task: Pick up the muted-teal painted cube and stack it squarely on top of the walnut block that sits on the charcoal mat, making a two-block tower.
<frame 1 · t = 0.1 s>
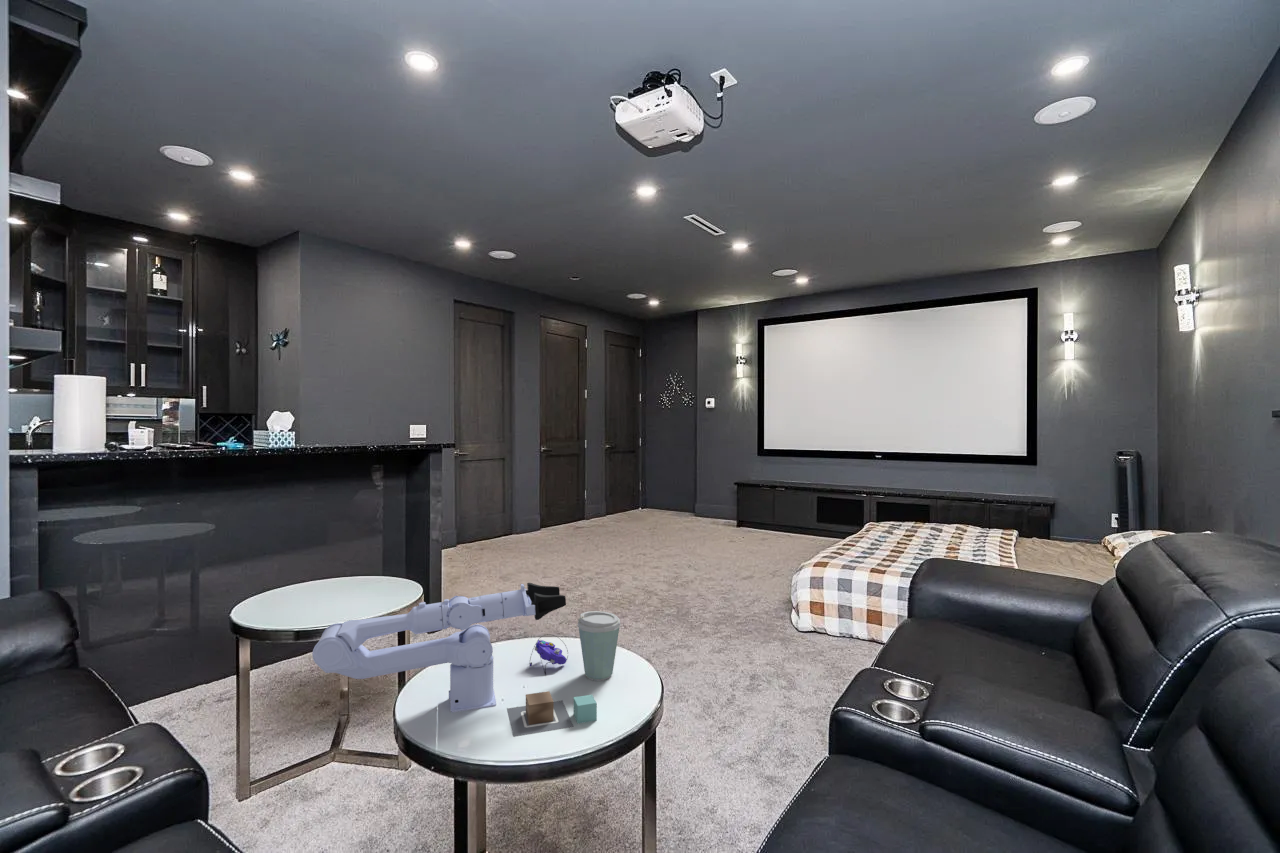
hand: (562, 595, 136), 22 cm above the table, tool horizontal, fingers open, 7 cm apart
mat: (539, 718, 122), on the table
walnut block: (539, 717, 122), resting on mat
teal cube: (584, 719, 122), on the table
disposable coffee cup: (599, 677, 143), on the table
game controller: (546, 668, 148), on the table
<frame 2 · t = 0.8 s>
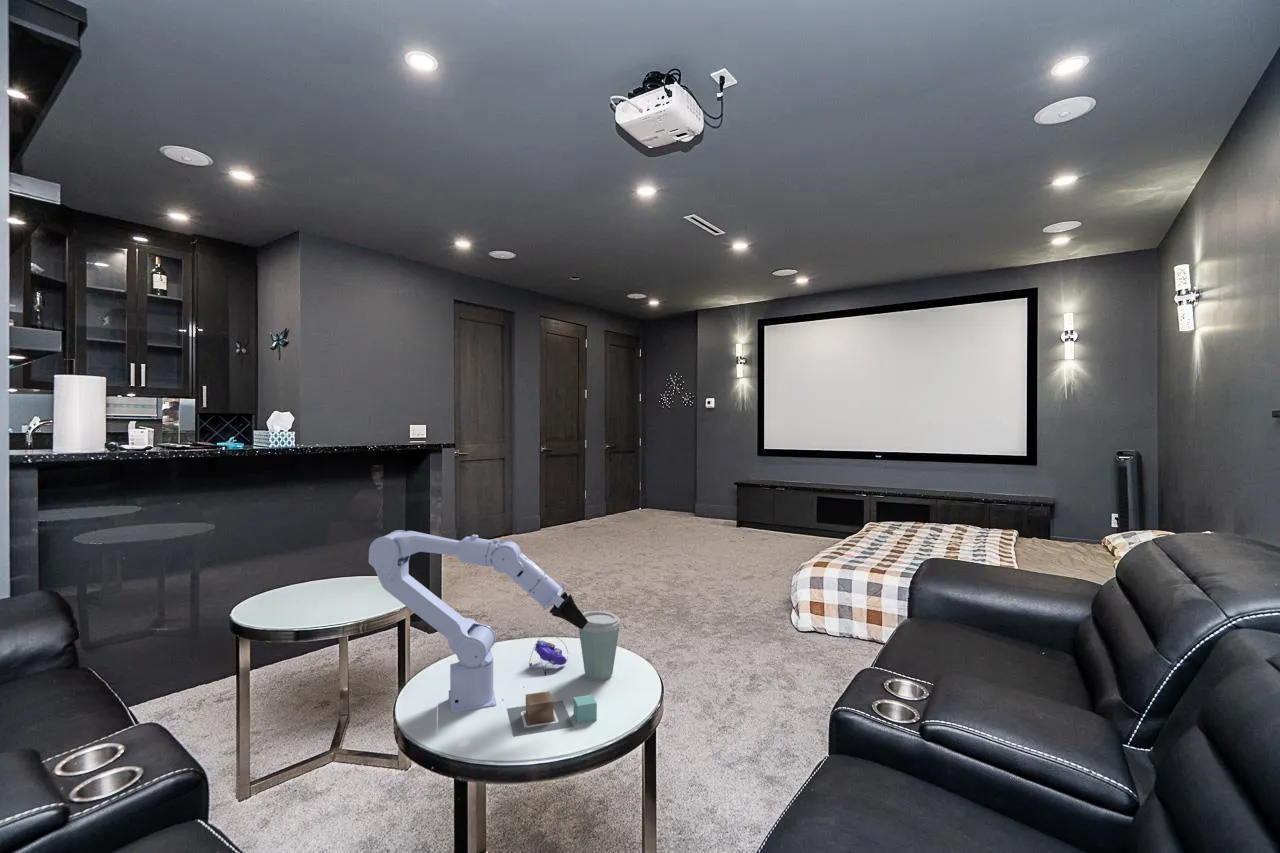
hand: (582, 623, 130), 17 cm above the table, tool tilted 50°, fingers open, 7 cm apart
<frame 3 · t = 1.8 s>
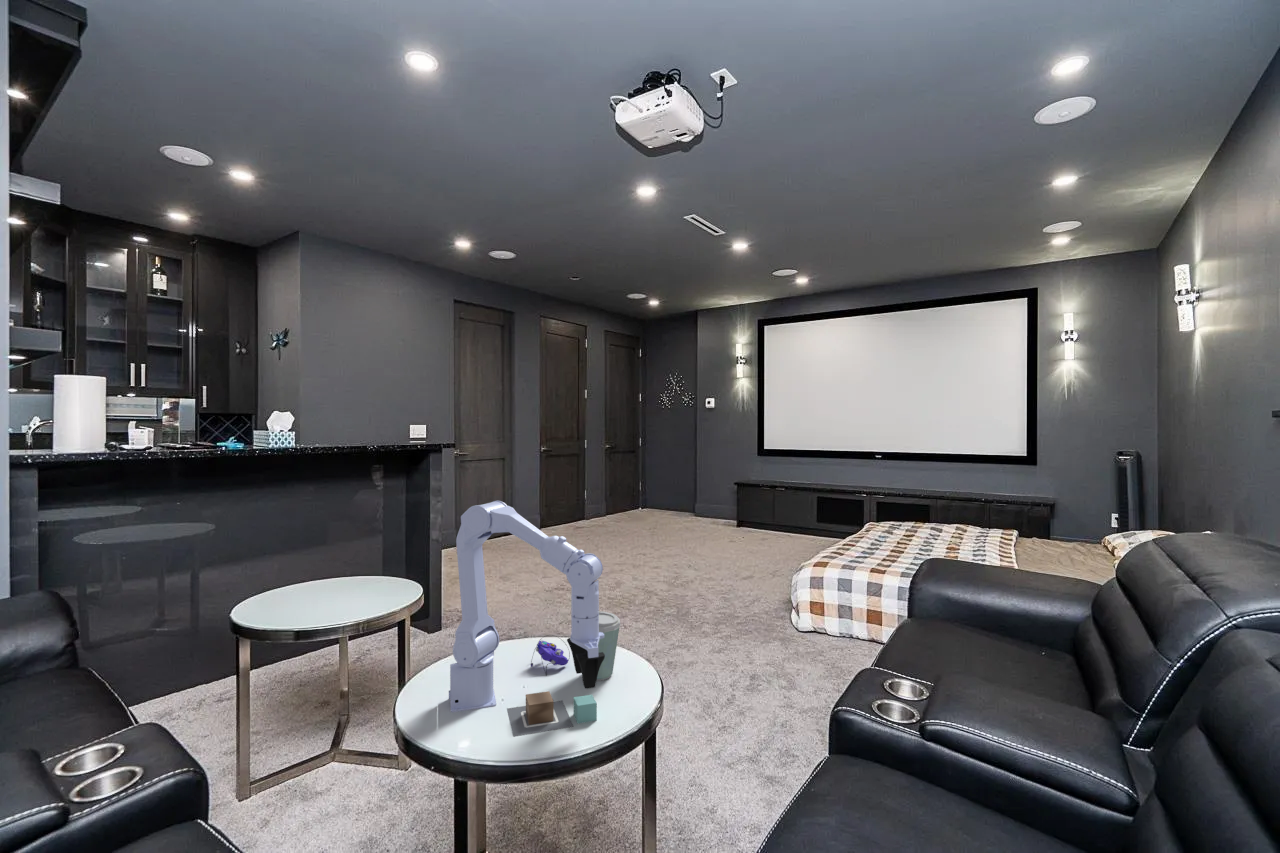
hand: (585, 679, 122), 8 cm above the table, tool pointing down, fingers open, 7 cm apart
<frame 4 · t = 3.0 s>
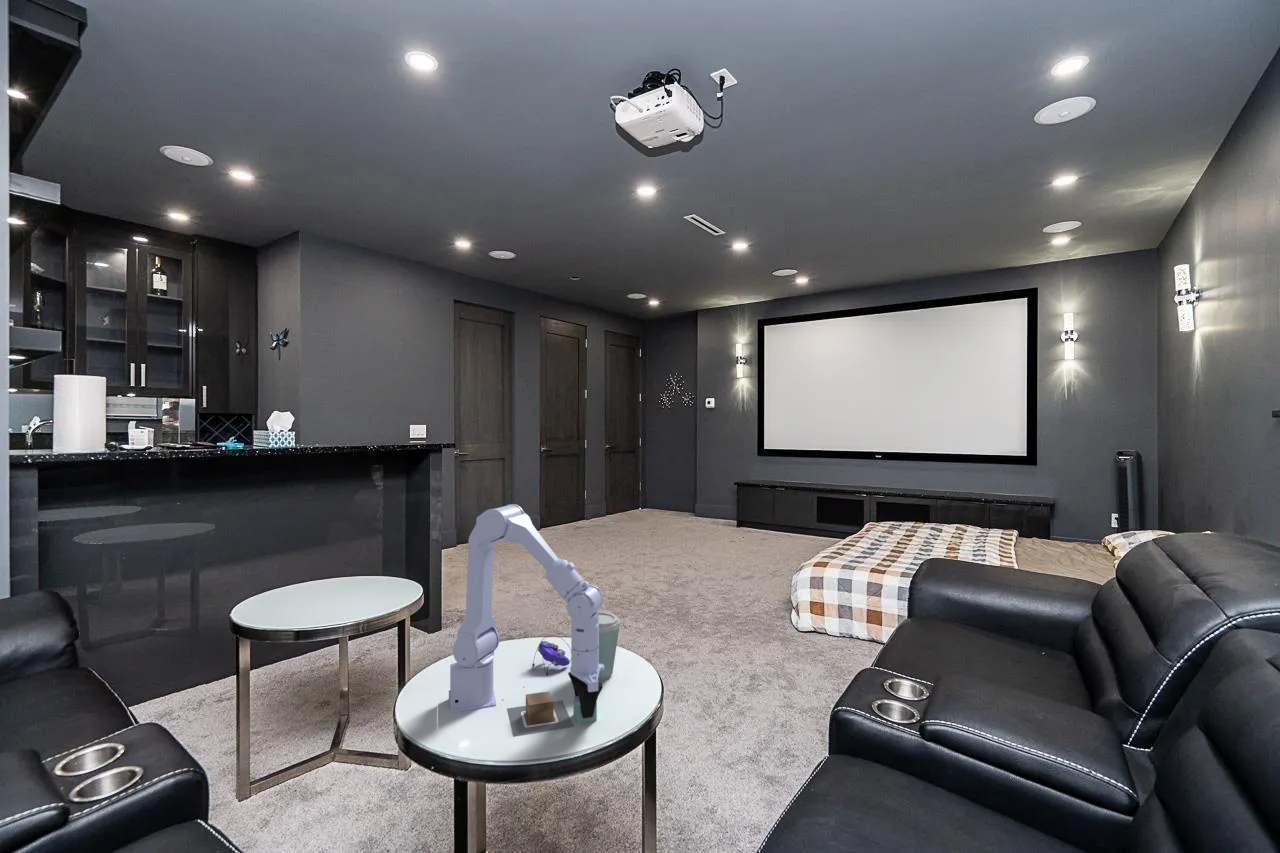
hand: (585, 711, 122), 1 cm above the table, tool pointing down, fingers closed on teal cube, 4 cm apart
teal cube: (585, 718, 122), on the table, touching gripper
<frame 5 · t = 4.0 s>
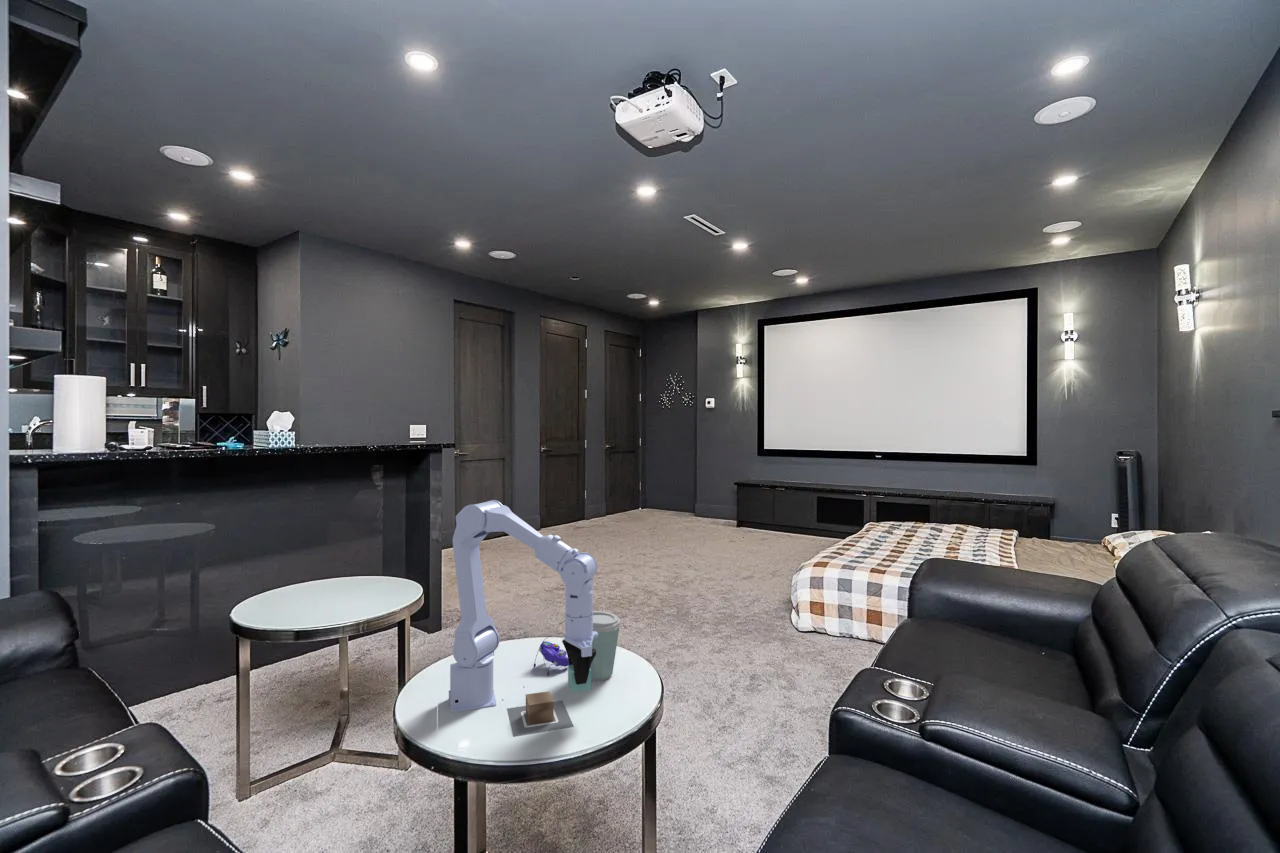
hand: (578, 678, 122), 8 cm above the table, tool pointing down, fingers closed on teal cube, 4 cm apart
teal cube: (579, 686, 122), point 7 cm above the table, touching gripper
when the fingers open (7 cm above the table, at t = 5.2 s): teal cube stays where it is, resting on walnut block.
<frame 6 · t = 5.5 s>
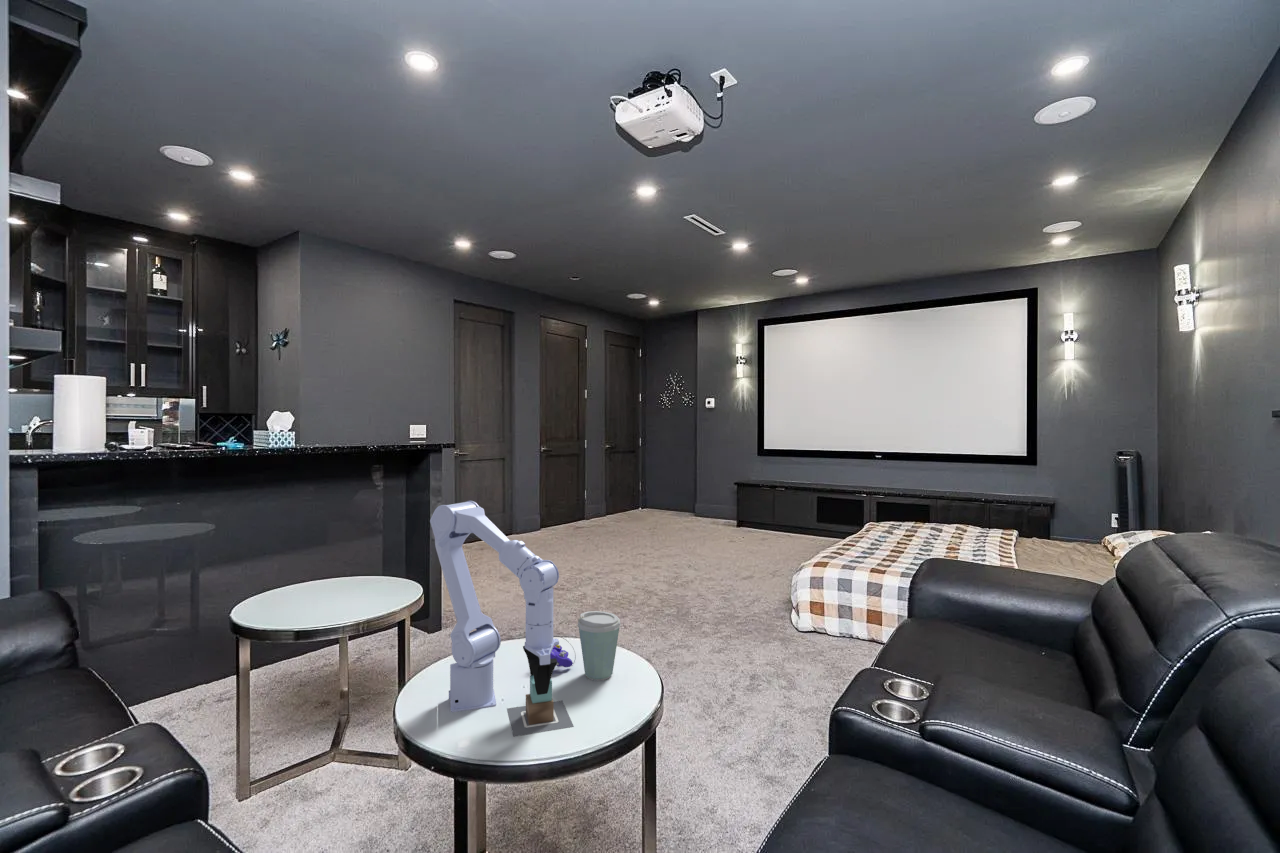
hand: (539, 686, 122), 7 cm above the table, tool pointing down, fingers open, 6 cm apart
walnut block: (539, 717, 122), resting on mat, touching teal cube
teal cube: (540, 697, 122), point 4 cm above the table, touching walnut block
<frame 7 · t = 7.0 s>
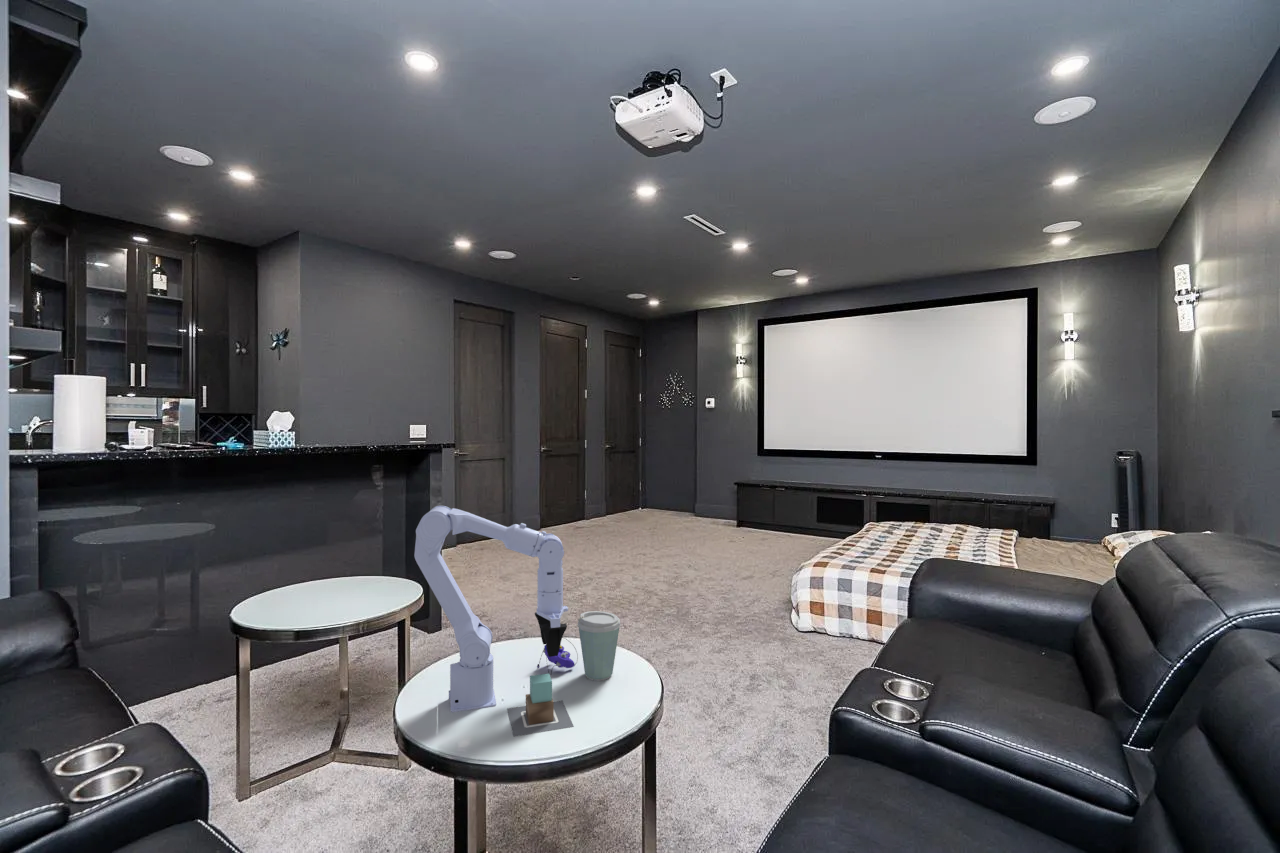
hand: (550, 649, 133), 10 cm above the table, tool pointing down, fingers open, 7 cm apart
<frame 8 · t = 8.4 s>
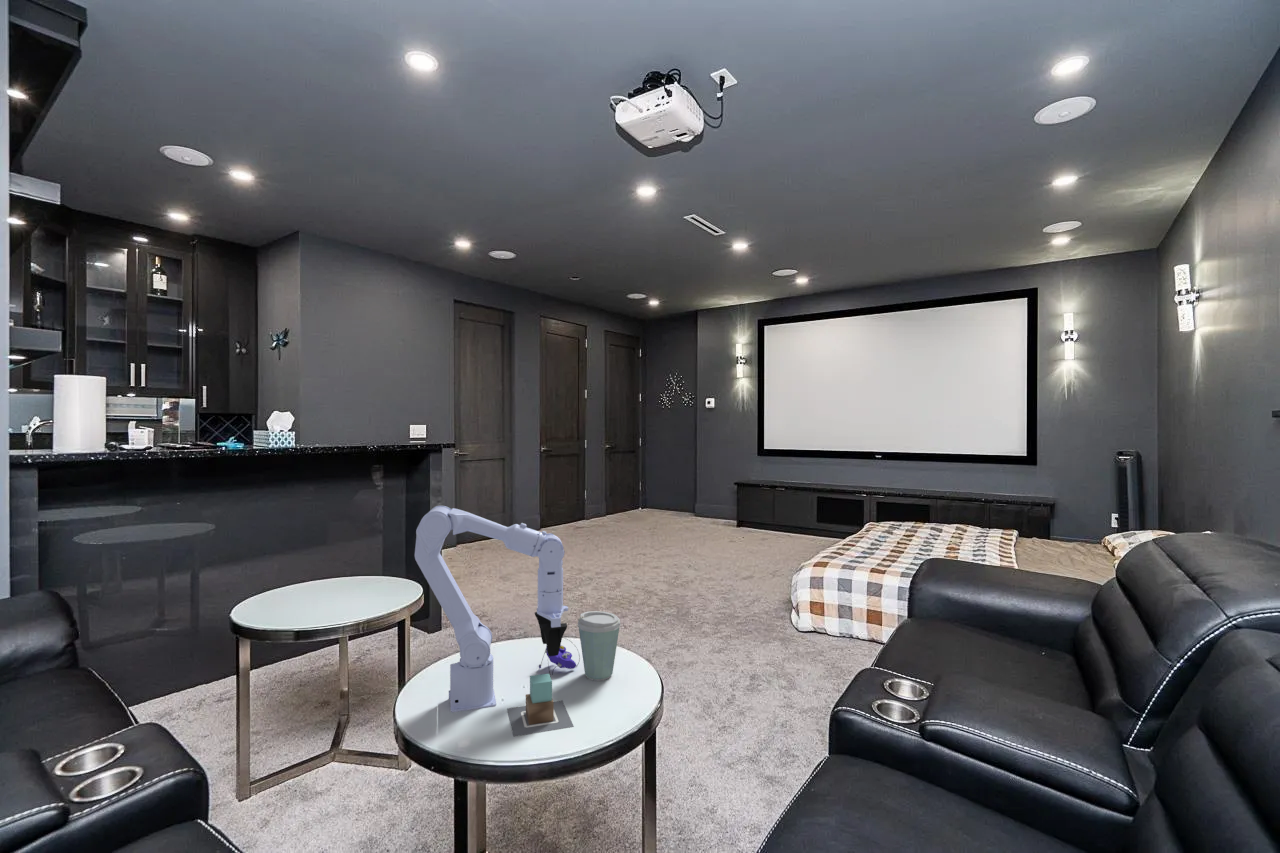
hand: (550, 649, 133), 10 cm above the table, tool pointing down, fingers open, 7 cm apart
at the end: teal cube 0.3 cm off-centre on the walnut block, point 4.0 cm above the walnut block's base; teal cube tilted 0°; walnut block moved 0.0 cm from its start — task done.
